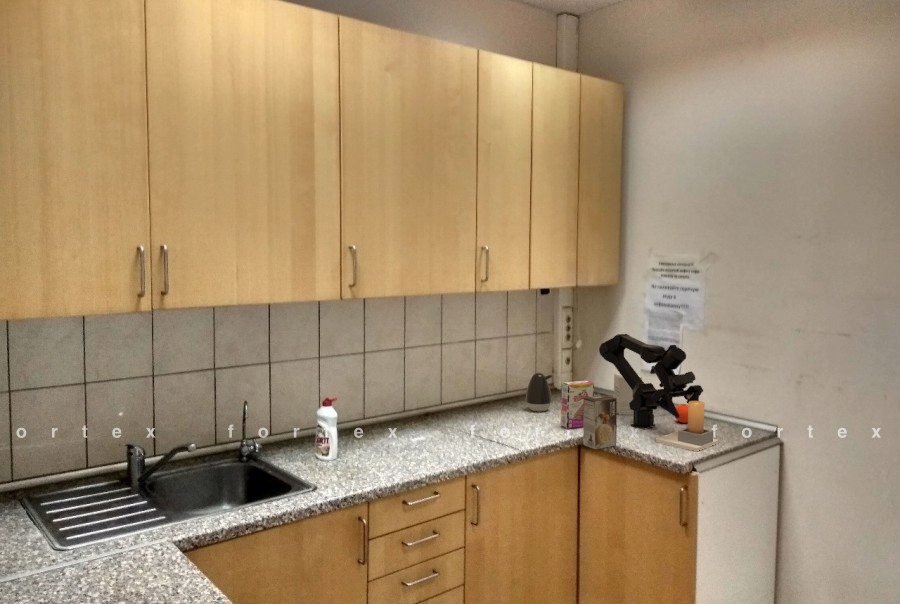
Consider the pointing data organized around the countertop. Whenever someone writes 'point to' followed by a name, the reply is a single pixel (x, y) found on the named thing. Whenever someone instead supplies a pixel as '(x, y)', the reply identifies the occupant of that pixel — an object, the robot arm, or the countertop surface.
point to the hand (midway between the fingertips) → (689, 415)
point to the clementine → (682, 413)
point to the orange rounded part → (696, 417)
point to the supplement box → (623, 395)
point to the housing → (689, 439)
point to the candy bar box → (574, 403)
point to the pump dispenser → (538, 393)
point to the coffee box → (600, 421)
